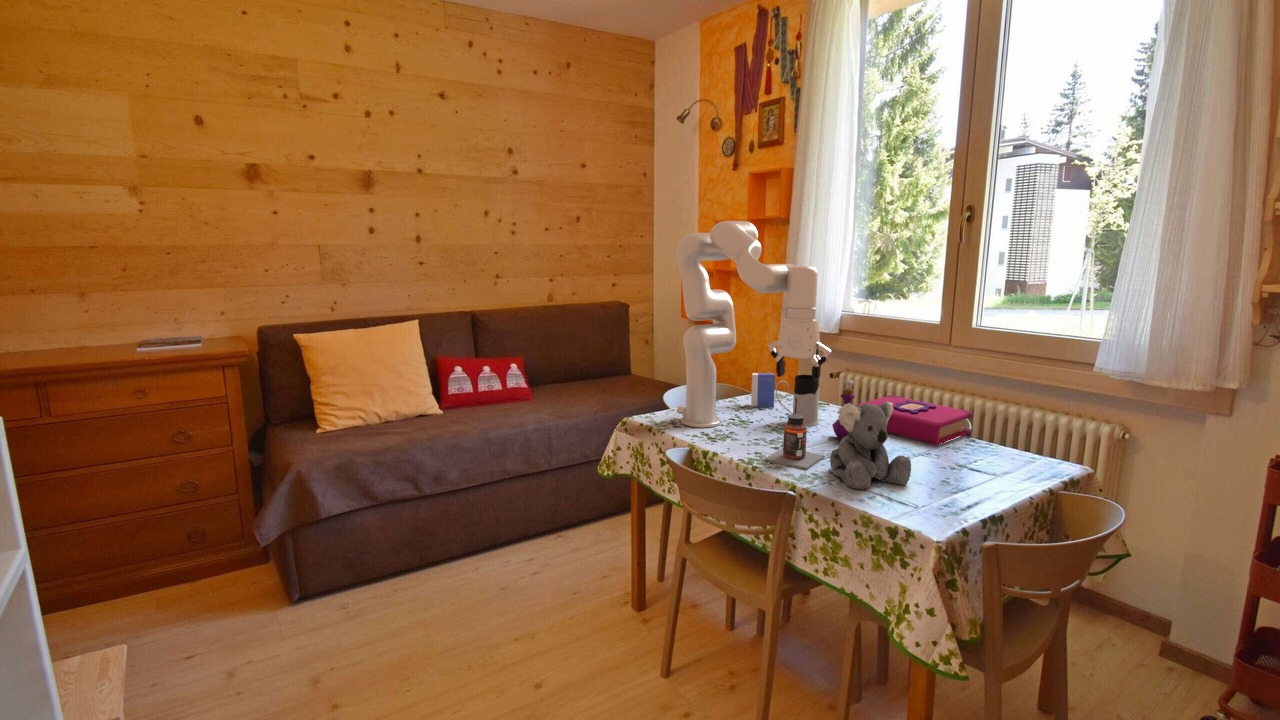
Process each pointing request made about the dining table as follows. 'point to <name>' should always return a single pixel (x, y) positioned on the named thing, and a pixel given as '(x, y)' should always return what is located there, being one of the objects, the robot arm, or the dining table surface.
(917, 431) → the book
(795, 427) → the supplement bottle
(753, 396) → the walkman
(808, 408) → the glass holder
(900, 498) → the dining table surface
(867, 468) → the koala plush
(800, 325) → the robot arm
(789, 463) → the grey mat
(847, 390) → the perfume bottle
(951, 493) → the dining table surface
